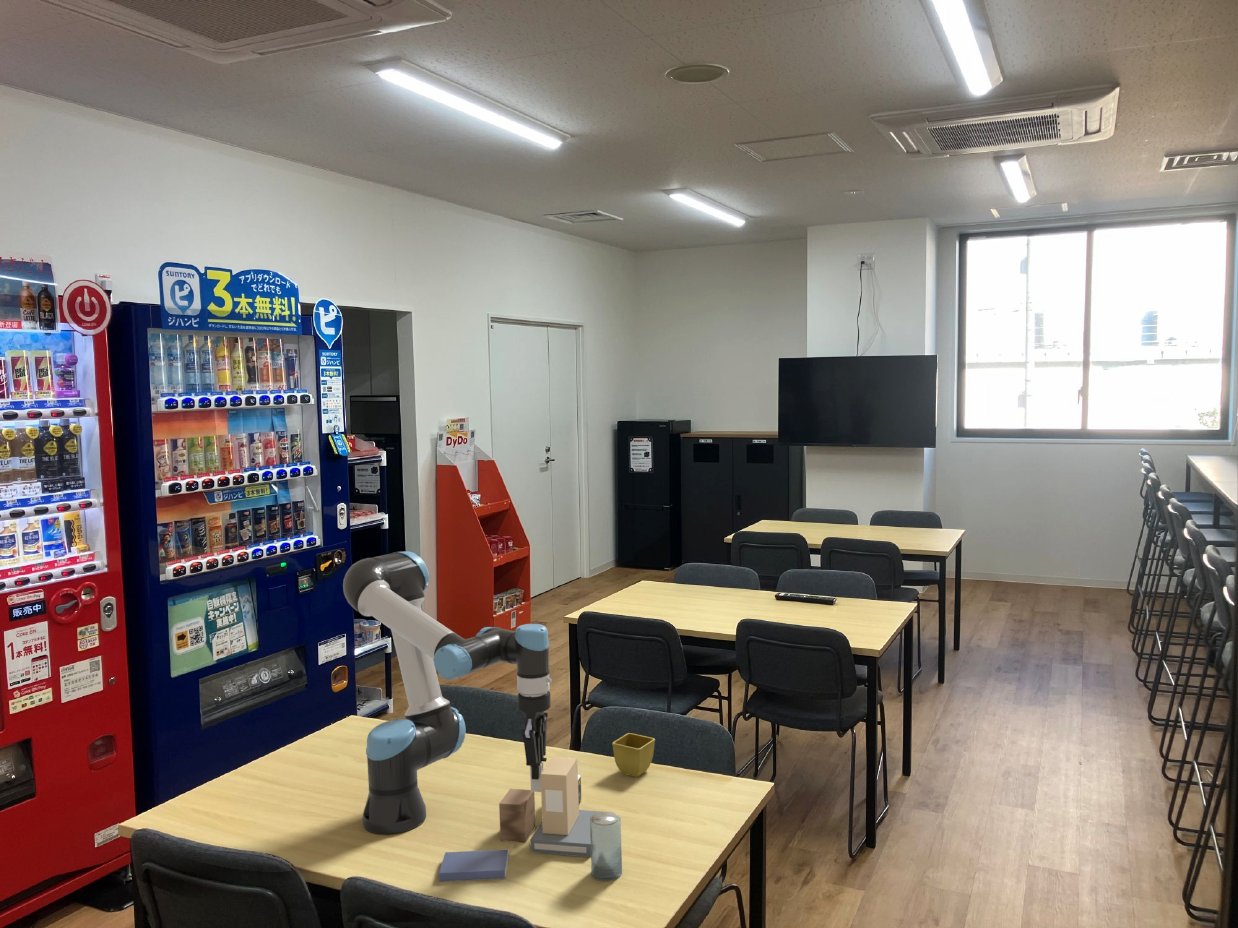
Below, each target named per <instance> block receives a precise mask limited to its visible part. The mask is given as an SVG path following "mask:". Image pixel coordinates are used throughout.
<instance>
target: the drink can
mask: <svg viewBox="0 0 1238 928" xmlns="http://www.w3.org/2000/svg"><path fill="white" fill-rule="evenodd" d="M621 819H622V818H621V816H620V815H618V814H617V813H615V812H613V811H602V812H599V813H596V814H595V815H593V816H592V817H591V818H590V839H591V857H590V864H591V865H590V867H591V869H590V871H591V876H592V877H593V879H595V880H597V881H600V882H611V881H615V880H618V879H620V877H622V876H623V861H622V860H623V856H622V822H621Z"/></svg>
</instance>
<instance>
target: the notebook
mask: <svg viewBox="0 0 1238 928" xmlns="http://www.w3.org/2000/svg"><path fill="white" fill-rule="evenodd" d="M509 857H510V856H509V849H488V850H487V849H486V850H467V851H448V852H447V851H446V852H445V853H444V855H443V859H442V862H441V865H440V869H439V872H438V880H439V883H441V882H460V881H462V882H463V881H466V882H467V881H481V880H482V881H484V880H505V879H506V876H507V870H508V864H509Z"/></svg>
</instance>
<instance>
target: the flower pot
mask: <svg viewBox="0 0 1238 928" xmlns="http://www.w3.org/2000/svg"><path fill="white" fill-rule="evenodd" d="M655 743H656V739H655V738H654V737H649V736H645V735H641V734H636V733H631V732H628V733H626V734H624V735H622V736H621V737H619V738H618V739H615V740H614V741H613V742H612V743H611V745H612V752H613V757H614V762H615V765H616V767H617V768H618V770H619V771H620V773H621V774H623V775H627V776H630V777H631V776H632V777H633V778H638V777H640V776H642V774H644V773H645V772H647V771H648V769H649V767H650V766H651V764H652V760H653V757H654V752H655V751H654V750H655Z"/></svg>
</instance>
